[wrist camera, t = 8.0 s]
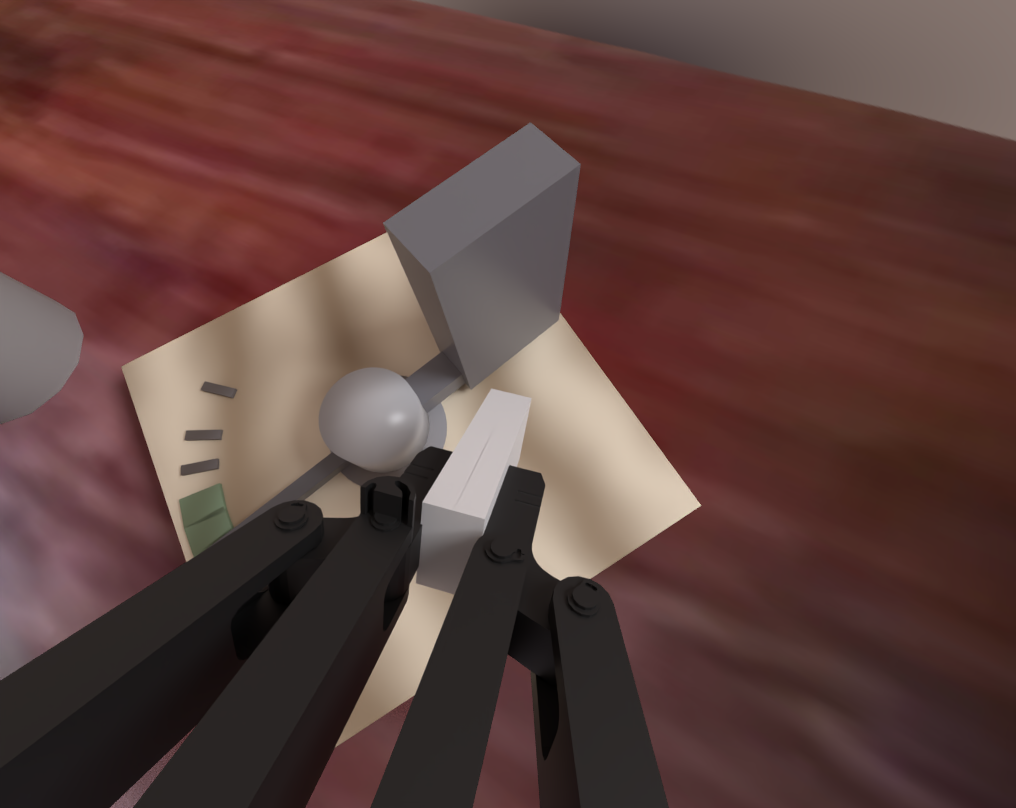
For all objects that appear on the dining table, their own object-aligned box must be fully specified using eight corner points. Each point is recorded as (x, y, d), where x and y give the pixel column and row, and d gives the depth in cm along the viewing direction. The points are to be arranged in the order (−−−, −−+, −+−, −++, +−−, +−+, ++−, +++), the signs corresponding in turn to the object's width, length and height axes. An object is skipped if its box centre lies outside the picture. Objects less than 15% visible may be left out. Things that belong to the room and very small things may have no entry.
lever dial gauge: (242, 598, 20) (-25, 646, 10) (197, 521, 21) (-80, 499, 11) (571, 332, 23) (602, 182, 14) (517, 279, 24) (510, 106, 15)
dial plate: (474, 214, 29) (469, 187, 27) (686, 509, 22) (702, 505, 20) (150, 379, 26) (117, 365, 24) (289, 770, 20) (261, 797, 18)
